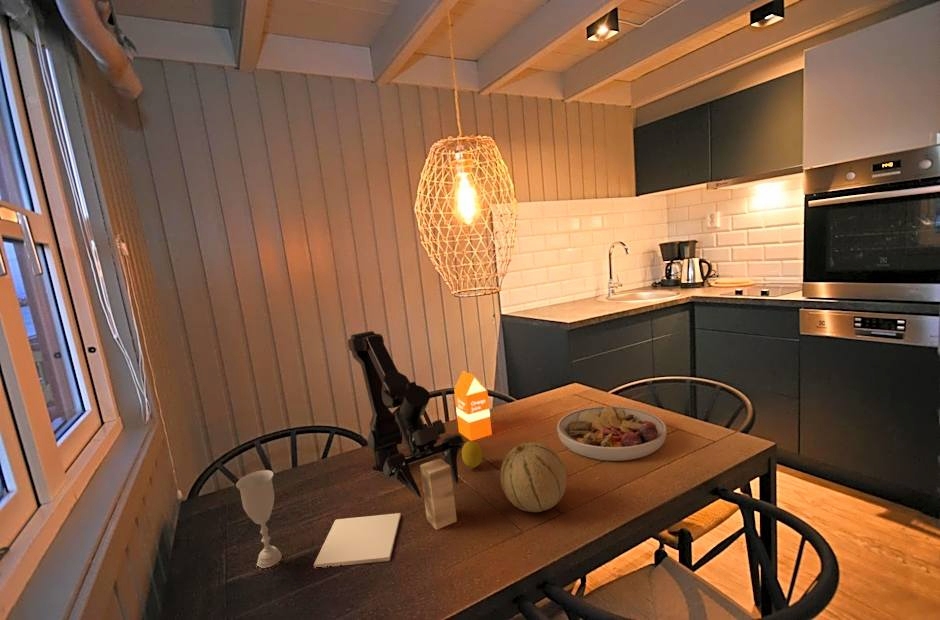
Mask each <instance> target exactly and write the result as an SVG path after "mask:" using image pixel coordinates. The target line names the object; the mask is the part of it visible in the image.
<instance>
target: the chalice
mask: <svg viewBox="0 0 940 620" xmlns="http://www.w3.org/2000/svg"><path fill="white" fill-rule="evenodd" d="M273 476H274V472H273V471H272V470H269V469H266V470H265V469H263V470H262V469H261V470H257V471H252V472H251V473H249V474H246V475H244V476H242V477H240V479H238V481H237V482H236V483H235V484H236V485H235V486H236V488H237V489H238V490H239V492H240V498H241V503H242V508H243V510H244V512H245V514H247V516H248V517H249V518H250V519H251V520H252V521H253V522H254V523H255V524H256V525H260V534H261V535H262V538H261V543H263V545H264V547H263V549H262V550H261V551H260V552H259V554H258V558H257V562H256V565H257V566H259V567H261V568H266V567H270V566H272V565H274V564H276V563H277V562H278V561H280V559H281V557H282V555H283V554H282V553H281V552H280V550H278V548H277V547H276V546H274V545H270V539H271V536H269V535H268V534H269V533H268V531H269V528H268V527H267V525H266V523H267V522H268V521H269V520H270V518H271V515H272V511H273V508H274V503H275V497H276V496H275V491H274V485H273V478H274V477H273ZM281 554H282V555H281ZM257 566H256V567H257Z"/></svg>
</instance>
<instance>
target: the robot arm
mask: <svg viewBox="0 0 940 620" xmlns="http://www.w3.org/2000/svg"><path fill="white" fill-rule="evenodd" d="M347 346H348V350H349V351H350V352H351V354H352V357H353V359H354V360H355V361H356V363H358V364H359V365H360V366H361V367H360V368H361V371H362V375H363V380H364V382H365V383H364V384H365V388H366V391H367V392H366V393H367V395H368V400H369V405H370V409H371V413H372V415H371V419H370V423H369V430H370V431H369V433H368V437H367V440H366V441H367V446H368V448H369V449H370V450H371V451H372V452H373V453H374V458H375V465H373V466H372V467H371V468H372V470H377V471H379V472H380V471H381V472H383V474H384V477H385V479H390V478H391V479H392V480H393V481H395V480H397V481H399V482H400V483H401V485H402V484H403V485H404V486H405V487H406V488H407V489H408V490H409V491H410V492H411V493H412V494H413V495H414V496H415V497H417V498H416V499H418V500H419V499H421V498H422V494H421V491H420V489H419V487H418V485H417V483H416V481H415V478H414V477H413V474H412V471H411V468H410V465H412V464H414V463H415V464H416V463H418V462H420V461H424V460H426V459H429V458H431V457H435V456H437V455H440V454H442V456H443V457H444V459H443V461H445V462H446V463H447V464H449V465H450V467H451V475H452V481H454V483H455V485H458V484H459V482H460V481H459V472H458V464H457V463H458V458H457V457H458V455H459V453H460V451H462V448H463V446H464V444H465V443H466V442H465V440H464V438H463V435H462V436H461V435H460V433H459V434H458V433H456V434H453V435H449V436H447V437H445V438H444V439H443V441H442V443H441V444H438V445H437V442H438V440H441V435H443V434H445V433H446V426H445V424H444V422H443V421H442V419H438V420H435V421H432V422H431V423H432V424H431V425H432V426H429V425H428V424H427V423H425V422H424V419H423V417H422V416H423V415H424V413H425V411H426V409H427V406H428V404H429V402H430V397H431V396H430V393H429V391H428V390H427V389H426V388H425V387H423V386H421V385H417V383H416V382H415V381H411V382H410V380H409V378H408V377H407V375H405V374H403V373H401V372H399V370H398V369H397V367H396V365H395V363H394V361H393V359H392V357H391V354H390V353H389V352H388V349H387V347H386V346H385V342H384V337H383V335H382V334H381V333H375V332H374V331H373V330H370V331H366V332H361V333H360V332H359V333H354V334H351V335H350V338H349V339H347ZM394 408H397V410H396V411H395V414H394V413H393V412H392V411H391V410H390V409H394ZM403 443H404V444H403ZM402 444H403V445H406V448H407V450H408V452H409V454H408V455H406V456H405V454H404V453H403V452H400V451H399V449H398V445H402ZM435 445H436V446H435Z"/></svg>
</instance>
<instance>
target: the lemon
mask: <svg viewBox="0 0 940 620" xmlns="http://www.w3.org/2000/svg"><path fill="white" fill-rule="evenodd" d="M461 459H462V461H463V463H464V464H465V465H466V466H467V467H469V468H472V469H476V467H478V466H479V465H480V464H481V462H482V460H483V450H482V447H481V445H480V444H479V443H478V442H477V441H476V440H473V441H472V440H469V439H468V441H467V442H465V443H464V445H463V446H462V448H461Z"/></svg>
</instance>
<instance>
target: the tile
mask: <svg viewBox="0 0 940 620" xmlns="http://www.w3.org/2000/svg"><path fill="white" fill-rule="evenodd" d="M400 520H401V512H398V513H397V512H395V513H389V514H388V513H386V514H379V515H369V516H367V515H366V516H358V517H347V518H338V519H334V522H333V524H332V526H331V528H330V530H329V532H328V534H327V536H326V538H325V540H324V543H323V545H322V546H321V548H320V551H319V553H318V555H317V557H316V559H315V561H314V564H313V568H314V569H317V568H316V567H322V568H330V567H329V566H332V567H341V566H340V565H342V566H350V565H352V566H353V565H360V564H371V563H381V562H390V561H391V558H392V553H393V549H394V545H395V540H396V536H397V534H398V529H399V524H400ZM327 566H328V567H327Z"/></svg>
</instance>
